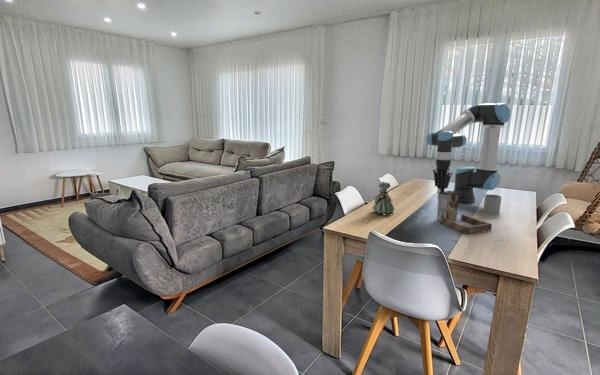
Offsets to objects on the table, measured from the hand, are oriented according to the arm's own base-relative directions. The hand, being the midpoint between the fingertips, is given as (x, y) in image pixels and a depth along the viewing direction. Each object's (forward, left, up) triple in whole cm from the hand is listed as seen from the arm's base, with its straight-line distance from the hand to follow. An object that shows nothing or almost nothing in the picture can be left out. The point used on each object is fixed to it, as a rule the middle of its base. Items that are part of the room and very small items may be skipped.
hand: (440, 199), depth 184 cm
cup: (+5, +35, -11) cm, 37 cm away
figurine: (-18, -27, -11) cm, 34 cm away
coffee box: (+6, 0, -11) cm, 12 cm away
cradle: (+19, 0, -11) cm, 22 cm away
